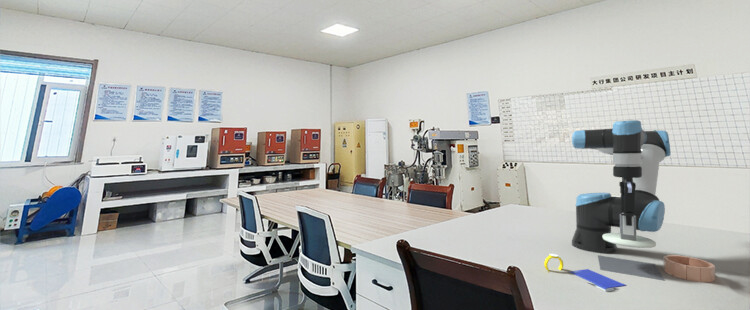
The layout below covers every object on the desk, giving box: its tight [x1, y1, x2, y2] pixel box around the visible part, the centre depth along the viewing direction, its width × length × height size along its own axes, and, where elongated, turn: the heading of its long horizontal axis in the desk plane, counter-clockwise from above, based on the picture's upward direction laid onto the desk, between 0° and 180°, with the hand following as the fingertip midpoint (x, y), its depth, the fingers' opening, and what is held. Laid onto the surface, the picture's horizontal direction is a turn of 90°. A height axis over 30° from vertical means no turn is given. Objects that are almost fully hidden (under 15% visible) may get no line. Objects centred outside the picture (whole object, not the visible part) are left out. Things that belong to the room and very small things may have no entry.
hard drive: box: [569, 268, 628, 292], centre depth 93 cm, size 2×8×12 cm
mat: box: [597, 255, 666, 282], centre depth 102 cm, size 16×16×1 cm
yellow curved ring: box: [543, 253, 564, 273], centre depth 101 cm, size 6×3×6 cm, turn 93°
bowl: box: [662, 254, 716, 283], centre depth 95 cm, size 11×11×5 cm
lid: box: [602, 214, 657, 249], centre depth 102 cm, size 14×14×9 cm
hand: (627, 233), depth 102 cm, fingers closed on lid, 3 cm apart
